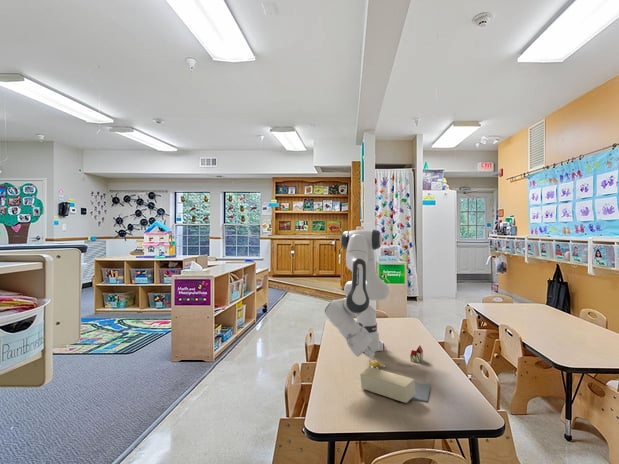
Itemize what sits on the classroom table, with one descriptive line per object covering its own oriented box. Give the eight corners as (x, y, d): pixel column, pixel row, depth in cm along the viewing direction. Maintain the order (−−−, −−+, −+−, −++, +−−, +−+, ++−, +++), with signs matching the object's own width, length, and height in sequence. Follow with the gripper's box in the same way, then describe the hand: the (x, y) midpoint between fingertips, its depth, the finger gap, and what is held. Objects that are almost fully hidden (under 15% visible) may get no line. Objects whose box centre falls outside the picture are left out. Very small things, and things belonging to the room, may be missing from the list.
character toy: (372, 365, 170) (364, 359, 177) (372, 371, 170) (364, 366, 177) (387, 363, 172) (378, 357, 180) (387, 369, 172) (378, 363, 180)
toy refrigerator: (361, 390, 151) (406, 405, 137) (359, 373, 151) (405, 386, 137) (371, 382, 157) (415, 396, 143) (369, 366, 156) (414, 378, 142)
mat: (378, 377, 163) (378, 376, 163) (430, 385, 154) (430, 384, 154) (369, 391, 149) (369, 390, 149) (427, 402, 140) (427, 400, 140)
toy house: (424, 363, 181) (424, 348, 181) (410, 363, 182) (410, 347, 182) (423, 359, 186) (422, 344, 186) (410, 359, 188) (409, 343, 188)
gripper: (349, 333, 150) (372, 359, 146) (362, 321, 168) (383, 345, 165) (339, 342, 151) (362, 369, 148) (353, 330, 170) (373, 353, 166)
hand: (373, 356), depth 156 cm, fingers closed
